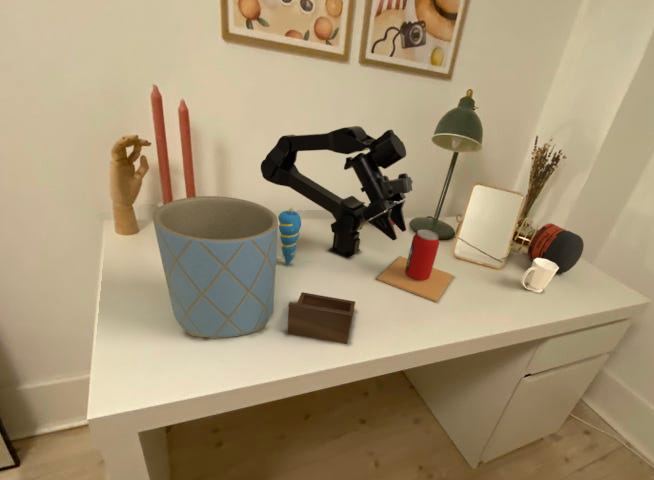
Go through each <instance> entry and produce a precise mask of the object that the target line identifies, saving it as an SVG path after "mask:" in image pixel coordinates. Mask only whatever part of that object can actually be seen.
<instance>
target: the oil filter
mask: <svg viewBox="0 0 654 480" xmlns="http://www.w3.org/2000/svg"><path fill="white" fill-rule="evenodd" d="M584 247H585V243H584V240H583V237H581V236H580V235H579V234H577V233H574V232H573V231H570V230H566V229H564V228H562V227H560V226H558V225H556V224H554V223H550V222H549V223H546V224H544V225H543V226H542V227H540V228H539V229H538V230H537V231H536V232H535V234H534V235H533V237H532V238H531V240H530V242H529V244H528V248H527V257H528V259H530V260H532V261H533V260H534V259H536V258H542V259H547V260H549V261H551V262H554V263H555V264H556V265H557V266H558V267H559V269H558V270H557V272H556V273H555V275H561V274H565V273H566V272H568V271H570V270H571V269H572V268H573V267H574V266H576V264H577V263H578V262H579V260H580V259H581V258H582V254H583V252H584Z"/></svg>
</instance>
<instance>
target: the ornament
mask: <svg viewBox="0 0 654 480" xmlns="http://www.w3.org/2000/svg"><path fill="white" fill-rule="evenodd" d="M277 219H278V223H279V224H278V231H279V233H280V238H279V239H280V242H281V252H282V256H283V258H284V262H285V264H286V265H287V266H289V265H290V264H291V263H292V261H293V259H294V258H295V255H296V249H297V246H298V240H299V238H300V230H301V228H302V218H301V216H300V214H299V212H297V211H294V208H293V207H292V206H290V207H289V208H288V210H284V211H282V212H280V213H279V215H278V217H277Z"/></svg>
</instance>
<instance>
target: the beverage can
mask: <svg viewBox="0 0 654 480" xmlns="http://www.w3.org/2000/svg"><path fill="white" fill-rule="evenodd" d="M439 246H440V239H439V235H438V234H437V233H436V232H434V231H432V230H429V229H418V230H417V232H416V233H415V234H414V235H413V237H412V240H411V245H410V249H409V252H408V257H407V259H408V261H407V265H406V270H405V272H406V274H407V275H408V276H409V277H410V278H412V279H414V280H418V281H422V280H426V279H428V278H429V277H430V274H431V271H432V268H434V265H435V261H436V257H437V253H438V250H439Z"/></svg>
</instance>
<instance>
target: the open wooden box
mask: <svg viewBox="0 0 654 480" xmlns="http://www.w3.org/2000/svg"><path fill="white" fill-rule="evenodd" d="M355 305H356V301H355V300H349V299H343V298H339V297H332V296H327V295H320V294H316V293H309V292H304V291H302V292H300V295H299V297H298V299H297V302H293V301H289V303H288V309H287V311H288V312H287V335H290V336H291V335H292V336H297V337H303V338H308V339H315V340H321V341H326V342H331V343H332V342H333V343H339V344H345V345H347V344H348V343H349V342H348V341H349V337H350V331H351V327H352V322H353V318H354V311H355V307H356V306H355Z"/></svg>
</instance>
